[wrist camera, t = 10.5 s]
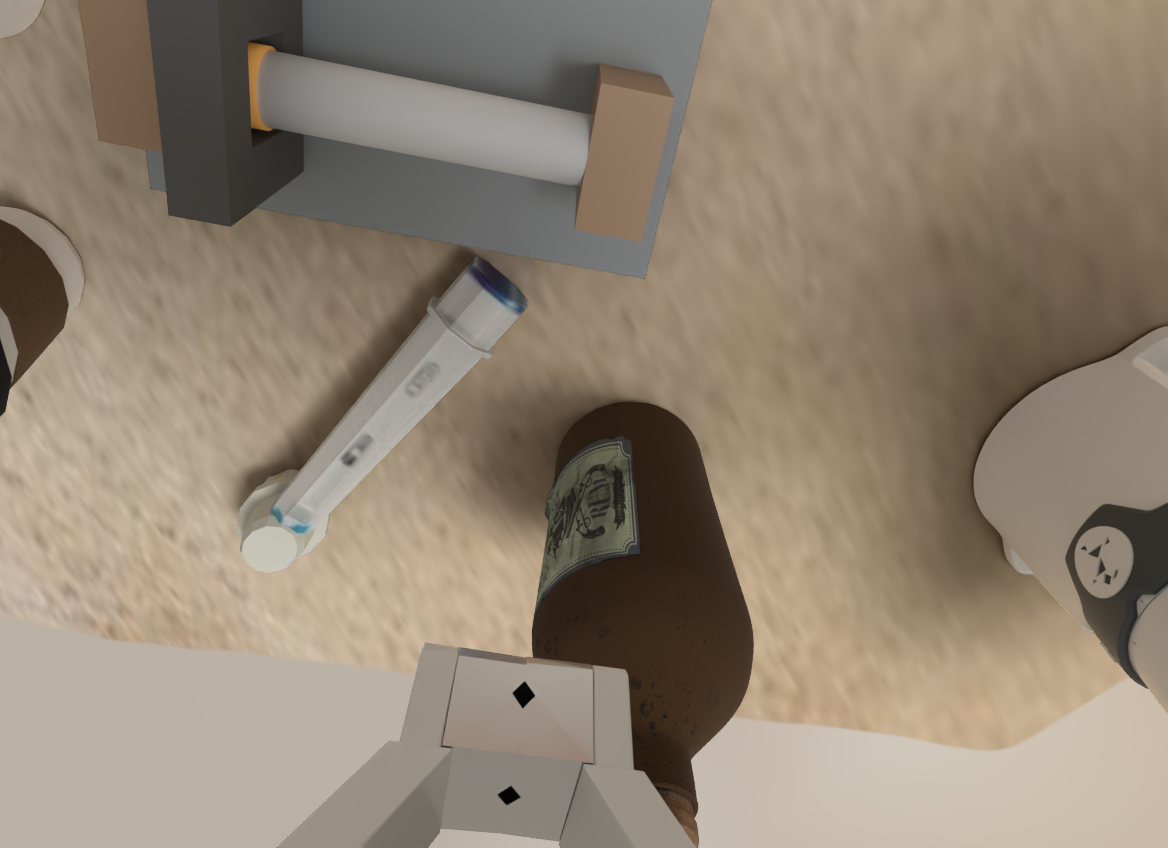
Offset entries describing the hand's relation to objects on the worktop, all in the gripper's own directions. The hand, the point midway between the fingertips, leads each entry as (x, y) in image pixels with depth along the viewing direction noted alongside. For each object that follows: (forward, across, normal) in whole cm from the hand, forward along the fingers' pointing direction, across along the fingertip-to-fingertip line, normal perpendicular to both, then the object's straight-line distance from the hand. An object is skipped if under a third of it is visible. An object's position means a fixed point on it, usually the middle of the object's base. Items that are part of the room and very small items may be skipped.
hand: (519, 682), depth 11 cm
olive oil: (+33, -7, +18) cm, 38 cm away
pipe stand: (+33, +8, -2) cm, 34 cm away
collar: (+31, +14, -2) cm, 34 cm away
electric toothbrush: (+34, +9, +17) cm, 39 cm away
